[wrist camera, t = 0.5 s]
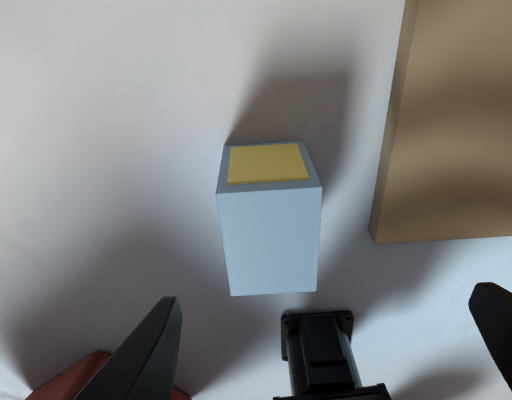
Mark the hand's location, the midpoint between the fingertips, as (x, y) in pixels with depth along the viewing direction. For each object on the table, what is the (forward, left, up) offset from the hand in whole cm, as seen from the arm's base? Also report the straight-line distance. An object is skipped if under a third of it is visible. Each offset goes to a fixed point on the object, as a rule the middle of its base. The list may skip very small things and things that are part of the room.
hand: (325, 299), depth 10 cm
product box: (-3, +1, -12) cm, 13 cm away
